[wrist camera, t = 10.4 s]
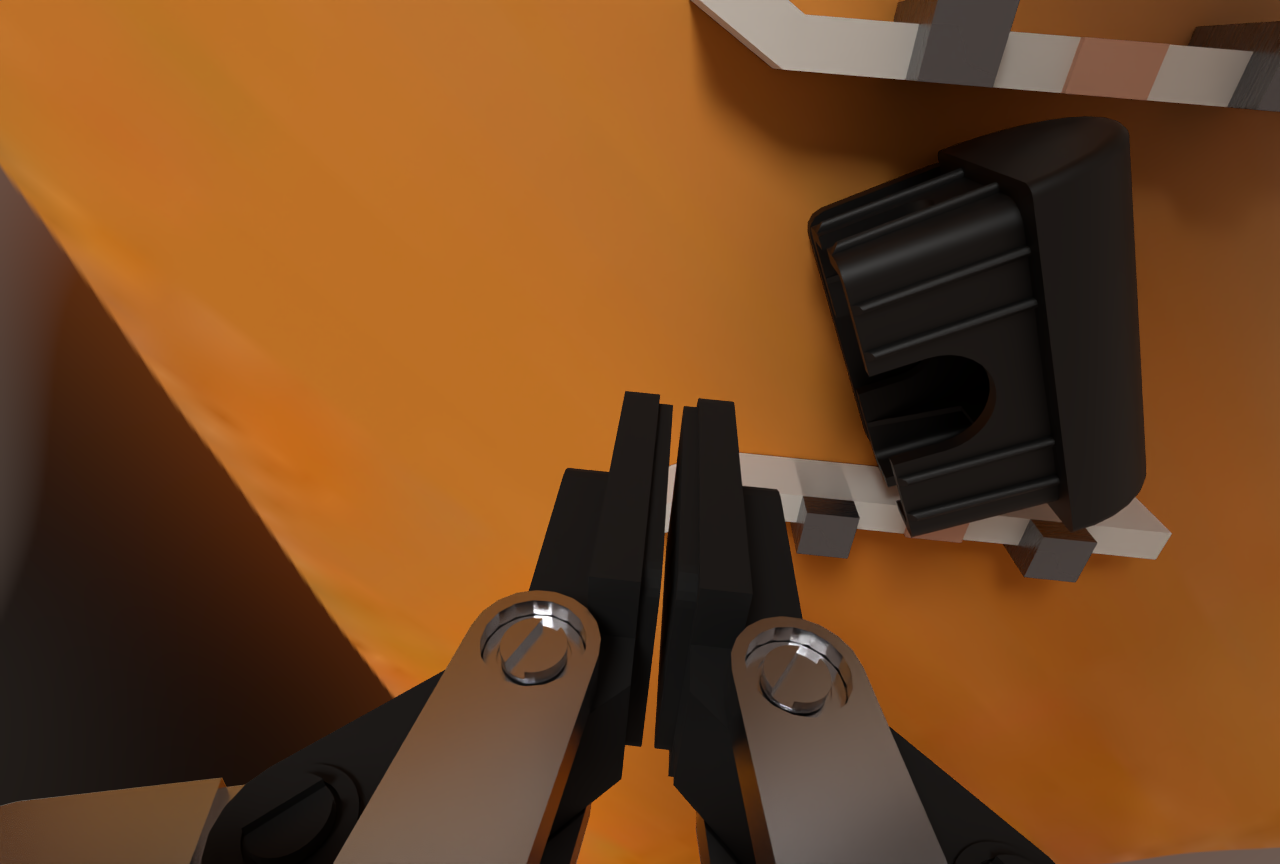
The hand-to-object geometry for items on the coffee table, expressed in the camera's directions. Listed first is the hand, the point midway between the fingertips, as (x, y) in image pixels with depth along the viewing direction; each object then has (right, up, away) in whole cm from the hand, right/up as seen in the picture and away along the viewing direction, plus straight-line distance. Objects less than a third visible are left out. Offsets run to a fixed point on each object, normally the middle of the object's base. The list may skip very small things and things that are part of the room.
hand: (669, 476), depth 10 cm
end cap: (+10, +5, +12) cm, 16 cm away
